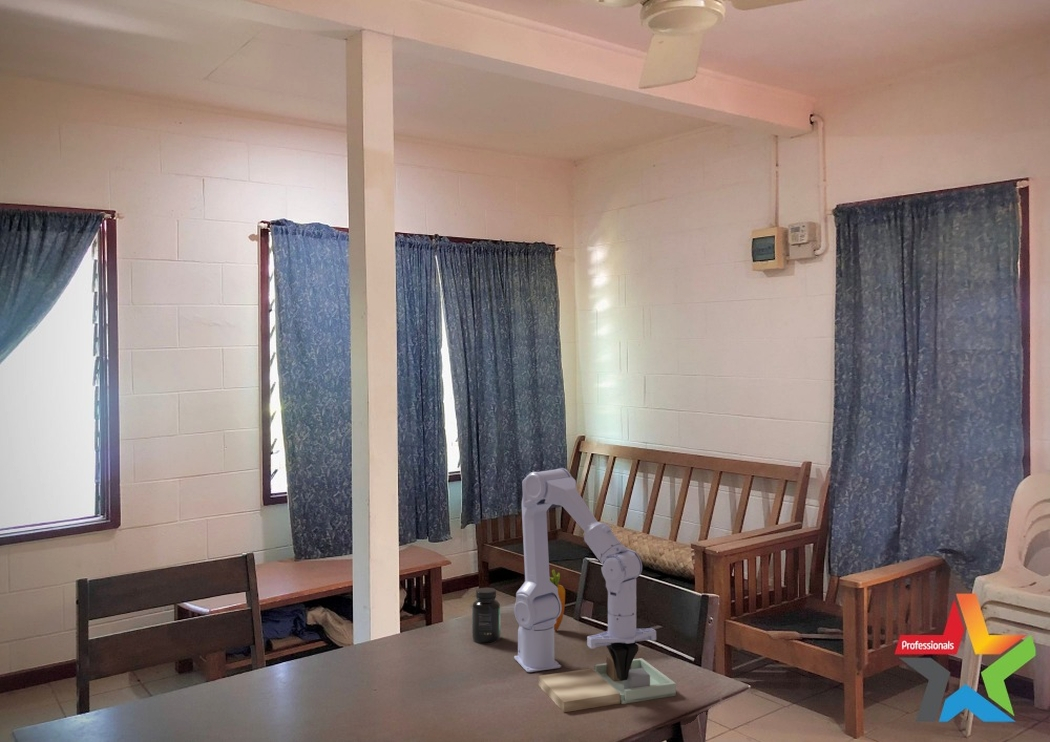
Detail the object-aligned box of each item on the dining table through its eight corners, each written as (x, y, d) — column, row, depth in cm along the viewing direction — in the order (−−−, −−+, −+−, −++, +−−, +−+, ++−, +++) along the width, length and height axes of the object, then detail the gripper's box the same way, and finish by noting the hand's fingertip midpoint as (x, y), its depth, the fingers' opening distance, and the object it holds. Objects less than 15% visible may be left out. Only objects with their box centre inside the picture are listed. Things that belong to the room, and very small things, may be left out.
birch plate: (538, 685, 177) (538, 675, 177) (591, 677, 181) (591, 668, 181) (563, 712, 164) (563, 702, 164) (619, 703, 168) (619, 693, 168)
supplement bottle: (506, 638, 206) (506, 589, 205) (486, 646, 201) (486, 596, 200) (486, 632, 210) (485, 584, 210) (466, 639, 205) (466, 590, 205)
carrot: (563, 634, 208) (563, 574, 208) (544, 633, 209) (543, 573, 209) (566, 628, 213) (566, 568, 213) (547, 626, 214) (547, 568, 214)
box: (591, 676, 181) (591, 665, 181) (641, 669, 185) (641, 658, 185) (622, 704, 167) (622, 691, 167) (675, 695, 171) (675, 683, 171)
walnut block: (606, 656, 181) (623, 654, 182) (606, 674, 181) (623, 672, 182) (613, 662, 177) (631, 660, 178) (613, 681, 177) (631, 679, 178)
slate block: (623, 670, 173) (641, 667, 174) (623, 689, 173) (641, 687, 174) (631, 677, 169) (650, 675, 170) (631, 697, 169) (650, 694, 170)
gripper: (597, 621, 164) (597, 691, 165) (663, 613, 169) (663, 681, 170) (582, 611, 171) (583, 677, 171) (647, 603, 176) (647, 668, 176)
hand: (622, 678), depth 171 cm, fingers closed
